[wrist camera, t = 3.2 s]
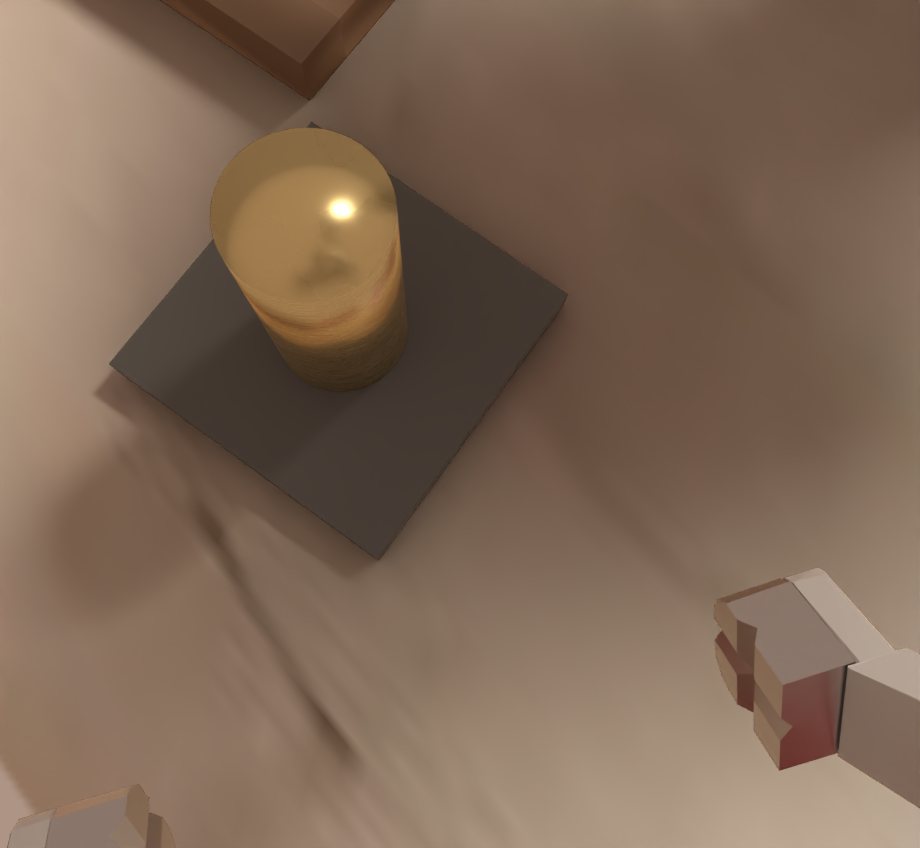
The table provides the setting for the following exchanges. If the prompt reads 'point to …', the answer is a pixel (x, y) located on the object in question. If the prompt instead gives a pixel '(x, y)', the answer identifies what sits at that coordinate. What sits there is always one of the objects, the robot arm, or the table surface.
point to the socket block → (288, 33)
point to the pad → (361, 411)
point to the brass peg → (316, 253)
